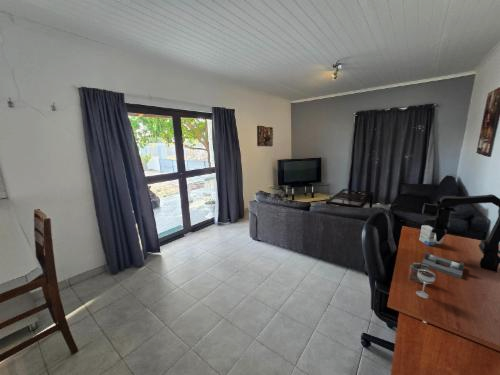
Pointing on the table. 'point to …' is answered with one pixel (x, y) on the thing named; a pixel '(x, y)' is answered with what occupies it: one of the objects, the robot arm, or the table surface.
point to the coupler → (437, 241)
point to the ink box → (427, 235)
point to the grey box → (416, 271)
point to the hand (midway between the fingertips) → (438, 239)
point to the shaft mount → (454, 269)
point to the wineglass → (425, 280)
